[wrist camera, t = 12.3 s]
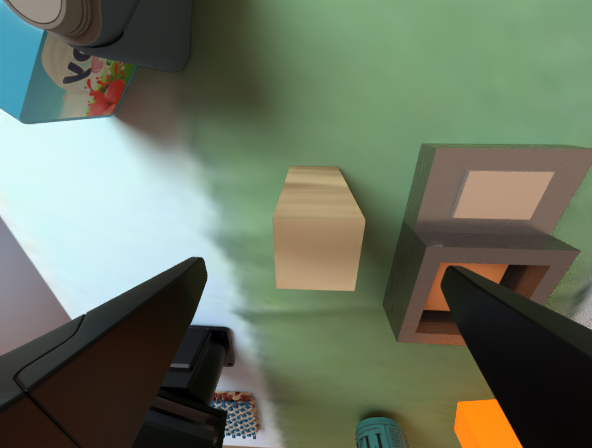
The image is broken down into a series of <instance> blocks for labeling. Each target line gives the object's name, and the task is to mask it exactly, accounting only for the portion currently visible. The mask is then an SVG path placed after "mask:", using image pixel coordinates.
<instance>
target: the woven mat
mask: <svg viewBox="0 0 592 448" xmlns="http://www.w3.org/2000/svg"><path fill="white" fill-rule="evenodd" d="M215 395H217V396H215ZM226 395H228V396H226ZM244 396H246V397H244ZM249 396H252V393H247V392H240V393H239V392H222V391H215V393H214V396H213V399H212V402H211V405H210V406H212V407H214V408H217V409H220V410H222V409H224V410H226V411H228V414H227V420H226V426H225V433H226V436H227V435H228V436H230V435H231V434H232V438H235V434H236V435H237V436H241V435H242V436H243V439H245V435H246V434H247V437H248V436H249V437H251V434H252V435H253V439H256V434H257V432H258V431H259V430H260V426H259V425H257V423H258V422H259V419H258V418H257V417H256V414H255V413H257V412H258V411H257V408H256V407H255V406H253V405H251V404H254V402H255V400H254V398H253V397H249ZM239 400H241V401H239ZM244 400H246V401H244ZM225 433H224V438H225Z"/></svg>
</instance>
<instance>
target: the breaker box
mask: <svg viewBox="0 0 592 448" xmlns="http://www.w3.org/2000/svg"><path fill="white" fill-rule="evenodd" d="M591 165H592V148H586V147H578V146H570V145H523V144H422V145H421V150H420V154H419V158H418V162H417V166H416V170H415V174H414V178H413V182H412V187H411V191H410V195H409V199H408V203H407V207H406V211H405V215H404V220H403V224H402V228H401V232H400V236H399V240H398V244H397V248H396V253H395V257H394V261H393V265H392V269H391V273H390V277H389V281H388V285H387V290H386V294H385V298H384V302H383V307H384V310H385V312H386V315H387V317H388V320H389V323H390V325H391V328H392V331H393V333H394V336H395V338H396V341H397V342H406V343H427V344H449V345H466V343H465V341H464V340H463V338H462V336H461V334H460V332H459V330H458V328H457V326H456V324H455V321H454V319H453V317H452V314H451V312H450V311H440V310H424V307H425V304H426V301H427V299H428V296H429V293H430V290H431V288H432V285H433V282H434V279H435V276H436V274H437V271H438V268H439V265H440V263H441V262H444V263H476V264H509V266H508V267H507V269H506V271H505V273H504V275H503V277H502V279H501V281H500V283H499V284H500V285H502V286H504V287H506V288H508V289H510V290H512V291H514V292H516V293H518V294H520V295H522V296H524V297H526V298H528V299H530V300H532V301H534V302H536V303H538V304H540V305H542V306H543V305H544V304H545V302H546V301H547V299H548V298H549V296H550V295H551V293H552V292H553V290H554V289H555V288H556V286H557V285H558V283H559V282H560V280H561V279H562V277H563V276H564V274H565V273H566V272H567V270H568V269H569V267H570V266H571V264H572V263H573V261H574V260H575V258H576V257H577V256H578V254H579V253H580V250H578V249H576V248H574V247H572V246H570V245H568V244H566V243H564V242H562V241H560V240H558V239H556V238H555V237H553V236H551V235H550V234H551V233H552V231H553V229H554V227H555V226H556V224H557V222H558V221H559V219H560V217H561V216H562V214H563V212H564V211H565V209H566V207H567V205H568V204H569V202H570V200H571V199H572V197H573V195H574V194H575V192H576V190H577V189H578V187H579V185H580V183H581V182H582V180H583V178H584V177H585V175H586V173H587V172H588V170H589V168H590V167H591Z"/></svg>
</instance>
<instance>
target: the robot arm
mask: <svg viewBox="0 0 592 448" xmlns="http://www.w3.org/2000/svg"><path fill="white" fill-rule="evenodd" d="M206 282H207V270H206V266H205V262H204V259H203V258H202V257H191V258H189V259H187V260H185V261H183V262H181V263H179V264H177V265H175V266H174V267H172V268H170V269H168V270H166V271H164V272H162V273H160V274H158V275H157V276H155V277H153V278H151V279H149V280H147V281H145V282H143V283H141V284H140V285H138V286H136V287H134V288H132V289H130V290H128V291H126V292H125V293H123V294H121V295H119V296H117V297H115V298H113V299H111V300H109V301H108V302H106V303H104V304H102V305H100V306H98V307H96V308H94V309H92V310H91V311H89V312H87V313H86V314H83V315H81V316H79V317H77V318H75V319H74V320H72V321H70V322H68V323H66V324H64V325H62V326H61V327H58V328H56V329H54V330H52V331H50V332H48V333H47V334H45V335H43V336H41V337H39V338H36V339H34V340H32V341H30V342H28V343H26V344H24V345H22V346H20V347H18V348H16V349H14V350H12V351H10V352H8V353H6V354H3V355H2V356H0V448H222V445H223V439H224V433H225V426H226V420H227V414H228V411H226V410H224V409H222V410H220V409H217V408H214V407H212V406H210V405H211V402H212V399H213V396H214V393H215V390H216V387H217V384H218V381H219V378H220V375H221V372H222V369H223V366H226V367H232V366H234V363H235V359H234V354H233V349H232V344H231V339H230V334H229V330H228V329H227V328H225V327H208V326H190V324H191V322H192V320H193V318H194V315H195V312H196V310H197V307H198V304H199V301H200V299H201V296H202V293H203V290H204V287H205V284H206ZM440 287H441V291H442V293H443V295H444V298H445V300H446V302H447V305H448V307H449V310H450V312H451V314H452V317H453V319H454V321H455V324H456V326H457V328H458V330H459V332H460V334H461V336H462V338H463V340H464V341H465V343H466V345H467V347H468V349H469V351H470V352H471V354H472V356H473V358H474V360H475V362H476V363H477V365H478V367H479V369H480V371H481V373H482V374H483V376H484V378H485V380H486V382H487V384H488V385H489V387H490V389H491V391H492V393H493V395H494V396H495V398H496V400H497V402H498V404H499V406H500V407H501V409H502V411H503V413H504V415H505V417H506V418H507V420H508V422H509V424H510V426H511V428H512V429H513V431H514V433H515V435H516V437H517V439H518V440H519V442H520V444H521V446H522V448H592V330H591V329H589V328H587V327H585V326H583V325H581V324H579V323H577V322H575V321H573V320H571V319H569V318H567V317H565V316H563V315H560V314H558V313H556V312H554V311H552V310H550V309H548V308H546V307H544V306H542V305H540V304H538V303H536V302H534V301H532V300H530V299H528V298H526V297H524V296H522V295H520V294H518V293H516V292H514V291H512V290H510V289H508V288H506V287H504V286H502V285H500V284H498V283H496V282H494V281H491V280H489V279H487V278H485V277H483V276H481V275H479V274H477V273H475V272H473V271H471V270H469V269H467V268H465V267H463V266H458V265H450V266H448V267H447V268H446V270H445V273H444V275H443V278H442V280H441V284H440Z"/></svg>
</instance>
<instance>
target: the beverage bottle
mask: <svg viewBox="0 0 592 448" xmlns="http://www.w3.org/2000/svg"><path fill="white" fill-rule="evenodd" d="M355 434H356V438H357V439H356V440H357V442H356V446H357V448H408V446H407V443H406V441H407V439H405V436H404V433H403V430H402V428H401V426H400V424H399V423H398V422H397V421H395V420H393V419H389V418H384V417H374V418H368V419H365V420H363V421H361V422H359V423H358V424H357V426H356V433H355Z"/></svg>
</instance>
